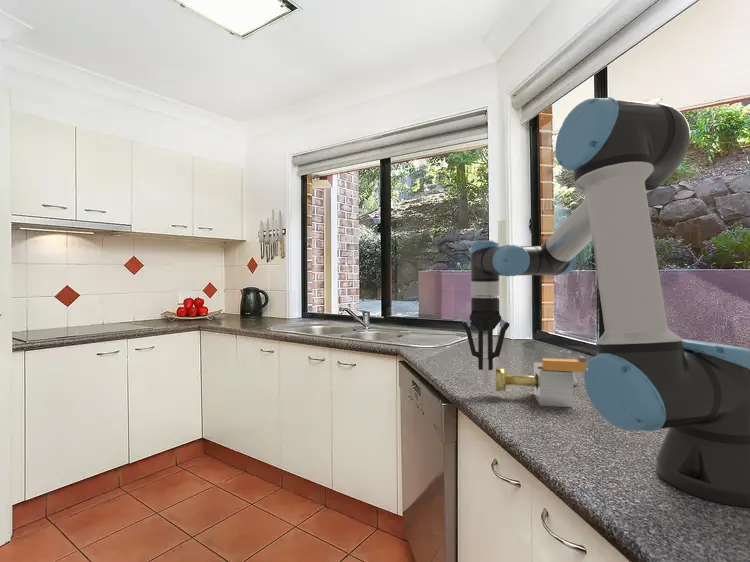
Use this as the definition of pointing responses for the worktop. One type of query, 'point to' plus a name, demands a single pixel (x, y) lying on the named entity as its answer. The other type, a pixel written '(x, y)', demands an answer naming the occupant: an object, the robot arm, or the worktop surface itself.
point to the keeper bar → (564, 364)
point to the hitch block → (553, 387)
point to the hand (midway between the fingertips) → (485, 381)
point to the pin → (513, 380)
